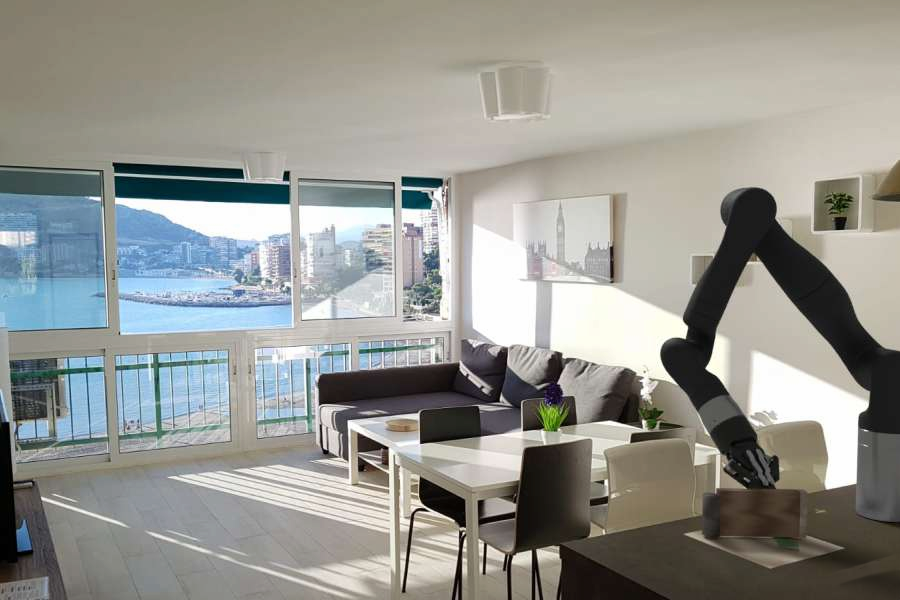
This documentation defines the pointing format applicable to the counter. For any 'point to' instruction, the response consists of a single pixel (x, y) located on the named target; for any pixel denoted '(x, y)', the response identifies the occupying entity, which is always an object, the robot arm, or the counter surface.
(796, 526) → the brown wood panel
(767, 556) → the beige flat square sheet
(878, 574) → the counter surface
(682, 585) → the counter surface
